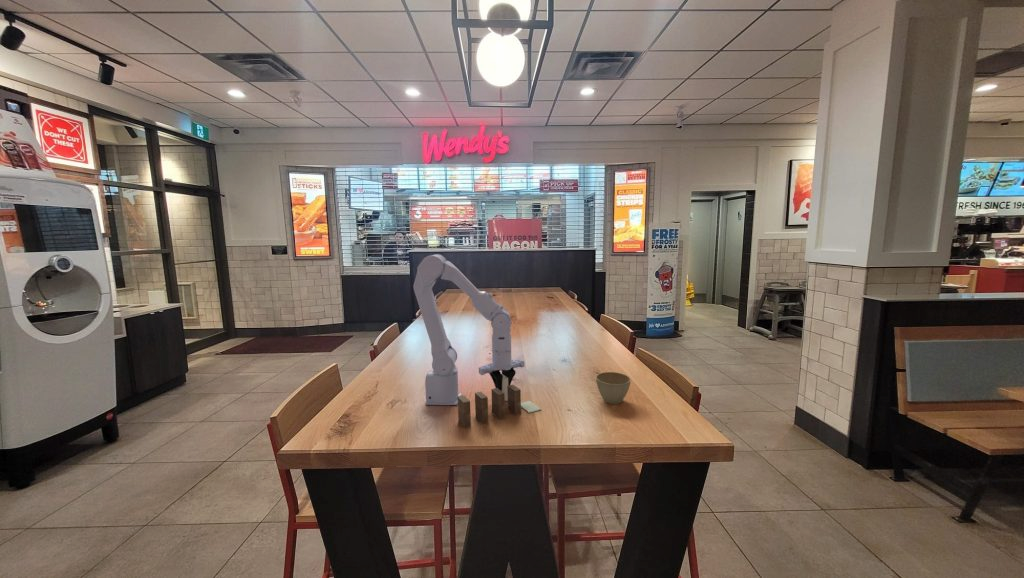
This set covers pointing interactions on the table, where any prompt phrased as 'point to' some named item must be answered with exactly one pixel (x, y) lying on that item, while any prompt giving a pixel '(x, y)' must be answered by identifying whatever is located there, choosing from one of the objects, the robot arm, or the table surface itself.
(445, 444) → the table surface
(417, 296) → the robot arm
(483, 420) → the domino
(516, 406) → the domino
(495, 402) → the domino
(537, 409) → the pad
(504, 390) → the domino
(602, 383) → the flower pot
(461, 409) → the domino
